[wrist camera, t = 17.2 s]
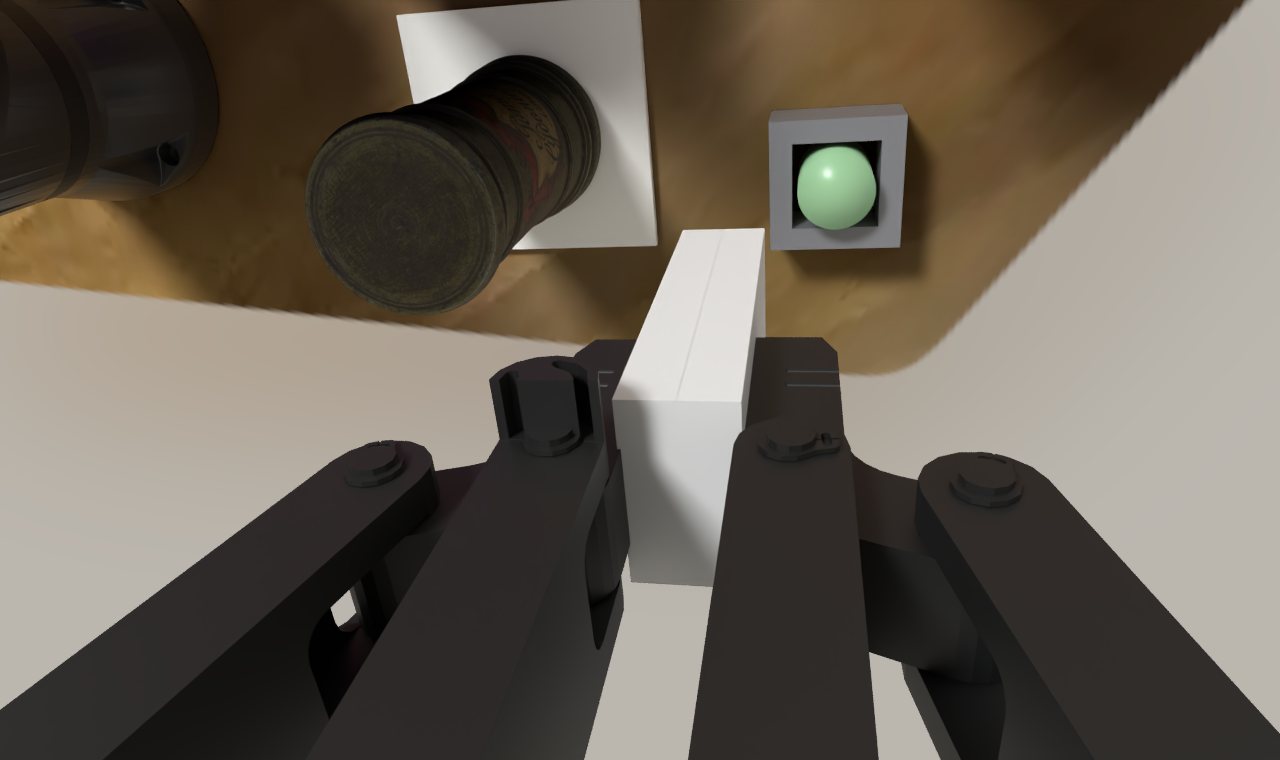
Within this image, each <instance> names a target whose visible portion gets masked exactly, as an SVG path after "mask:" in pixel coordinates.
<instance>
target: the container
mask: <svg viewBox="0 0 1280 760" xmlns="http://www.w3.org/2000/svg"><path fill="white" fill-rule="evenodd" d="M600 151H601V134H600V126H599V122H598V118H597V114H596V111H595V109H594V106H593V104H592V102H591V100H590V98H589V96H588V95H587V93H586V92H585V90H584V89H583V87H582V86H581V85H580V84H579V83H578V81H577V80H576V79H575V78H574V77H572V76H571V75H570V74H569V73H568V72H567V71H565V70H564V69H563V68H561V67H560V66H558V65H556V64H554V63H552V62H550V61H548V60H545V59H542V58H539V57H535V56H530V55H510V56H505V57H501V58H498V59H496V60H493V61H491V62H489V63H487V64H486V65H484V66H482V67H481V68H479V69H478V70H476V71H474V72H473V73H472V74H470V75H469V76H468V77H467V78H466V79H465V80H464V81H462V82H460V83H459V84H457V85H456V86H455V87H453V88H452V89H451V90H449V91H447V92H445V93H443V94H441V95H438V96H436V97H433V98H430V99H428V100H425V101H423V102H421V103H418V104H412V105H408V106H404V107H402V108H399V109H397V110H395V111H393V112H383V113H374V114H369V115H365V116H362V117H359V118H357V119H354V120H352V121H350V122H348V123H347V124H345V125H343V126H342V127H340V128H339V129H338V130H336V131H335V132H334V133H333V134H332V135H331V136H330V137H329V138H328V139H327V140H326V141H325V142H324V144H323V145H322V147H321V148H320V150H319V151H318V153H317V155H316V156H315V158H314V160H313V162H312V165H311V167H310V170H309V173H308V177H307V182H306V189H305V209H306V216H307V221H308V225H309V228H310V232H311V235H312V238H313V240H314V243H315V245H316V247H317V249H318V251H319V253H320V255H321V257H322V258H323V260H324V262H325V263H326V264H327V266H328V267H329V269H330V270H331V271H332V273H333V274H334V275H335V276H336V277H337V278H338V279H339V280H340V281H341V282H342V283H343V284H344V285H345V286H346V287H347V288H349V289H350V290H351V291H352V292H354V293H355V294H357V295H358V296H359V297H361V298H363V299H364V300H366V301H368V302H369V303H371V304H373V305H376V306H378V307H380V308H383V309H385V310H388V311H392V312H396V313H400V314H406V315H433V314H439V313H444V312H447V311H450V310H453V309H455V308H458V307H460V306H462V305H464V304H466V303H468V302H469V301H470V300H472V299H473V298H475V297H476V296H477V295H478V294H479V293H480V292H481V291H482V290H483V289H484V288H485V287H486V286H487V284H488V283H489V282H490V280H491V279H492V277H493V276H494V274H495V272H496V270H497V268H498V265H499V264H500V263H501V262H502V261H503V260H504V259H505V258H506V257H507V256H508V254H509V253H510V252H511V250H512V249H513V247H514V246H515V245H516V244H517V243H518V242H519V241H520V240H521V239H522V238H523V237H524V236H525V235H526V234H527V233H528V232H529V231H530V230H531V229H532V228H533V227H534V226H536V225H538V224H540V223H542V222H543V221H545V220H546V219H547V218H550V217H552V216H554V215H556V214H558V213H559V212H561V211H562V210H563V209H565V208H567V207H568V206H570V205H571V204H573V203H574V202H575V201H576V200H577V199H578V198H579V197H580V196H581V195H582V194H583V193H584V192H585V191H586V189H587V188H588V186H589V185H590V183H591V181H592V179H593V177H594V175H595V172H596V170H597V166H598V163H599V158H600Z"/></svg>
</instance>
